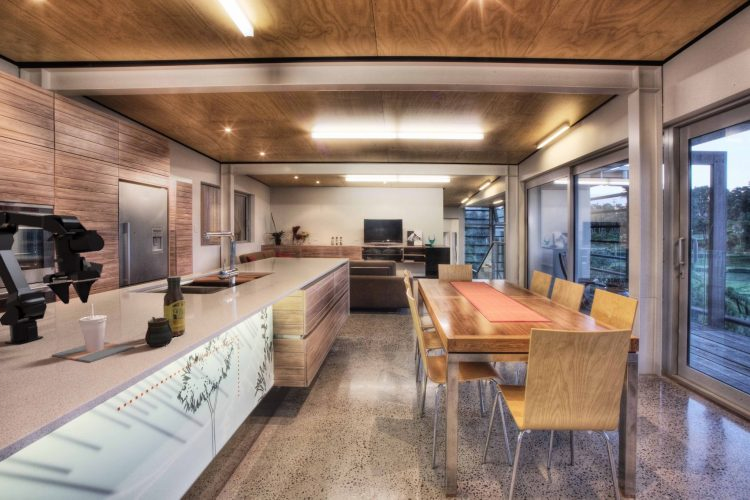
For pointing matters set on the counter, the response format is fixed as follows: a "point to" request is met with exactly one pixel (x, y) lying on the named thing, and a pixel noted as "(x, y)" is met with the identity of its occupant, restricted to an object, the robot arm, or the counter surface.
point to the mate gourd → (158, 332)
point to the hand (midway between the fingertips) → (75, 303)
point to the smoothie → (93, 331)
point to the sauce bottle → (175, 306)
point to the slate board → (85, 356)
